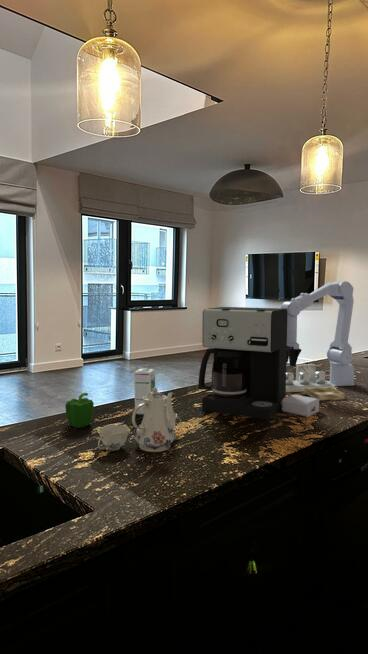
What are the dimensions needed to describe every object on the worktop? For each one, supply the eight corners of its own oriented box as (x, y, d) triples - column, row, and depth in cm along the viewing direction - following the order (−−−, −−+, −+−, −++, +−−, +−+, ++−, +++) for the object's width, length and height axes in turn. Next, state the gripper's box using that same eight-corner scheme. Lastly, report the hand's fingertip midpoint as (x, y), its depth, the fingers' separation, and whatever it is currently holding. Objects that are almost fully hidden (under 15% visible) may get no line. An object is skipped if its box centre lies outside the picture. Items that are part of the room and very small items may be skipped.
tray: (330, 392, 180) (330, 387, 180) (345, 399, 169) (345, 393, 169) (304, 393, 178) (304, 388, 178) (317, 400, 167) (317, 395, 167)
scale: (319, 383, 196) (320, 363, 196) (334, 390, 184) (335, 369, 183) (271, 385, 192) (272, 365, 192) (283, 392, 180) (284, 371, 179)
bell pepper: (66, 431, 133) (65, 397, 132) (65, 422, 141) (64, 391, 140) (95, 428, 135) (94, 396, 134) (93, 420, 143) (92, 389, 142)
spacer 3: (322, 381, 190) (322, 371, 190) (327, 383, 186) (327, 373, 186) (312, 381, 190) (312, 371, 189) (317, 384, 185) (317, 373, 185)
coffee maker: (190, 409, 156) (190, 308, 153) (213, 396, 173) (214, 305, 170) (269, 420, 143) (271, 310, 140) (285, 405, 160) (287, 307, 157)
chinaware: (161, 430, 139) (156, 376, 138) (204, 436, 128) (200, 378, 128) (88, 457, 117) (83, 394, 117) (133, 467, 106) (127, 398, 106)
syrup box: (151, 415, 149) (151, 371, 148) (134, 414, 150) (133, 371, 149) (155, 410, 155) (155, 368, 153) (139, 409, 156) (139, 367, 154)
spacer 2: (306, 382, 189) (306, 371, 189) (311, 384, 185) (311, 373, 184) (296, 382, 188) (296, 371, 188) (301, 384, 184) (301, 374, 184)
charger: (279, 403, 163) (319, 411, 153) (266, 409, 156) (306, 417, 146) (279, 390, 162) (319, 398, 153) (266, 395, 155) (307, 403, 146)
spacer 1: (290, 382, 188) (291, 372, 188) (295, 385, 184) (295, 374, 183) (280, 383, 187) (281, 372, 187) (285, 385, 183) (285, 374, 182)
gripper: (273, 329, 189) (272, 361, 191) (287, 333, 175) (286, 367, 176) (289, 329, 191) (288, 360, 192) (304, 332, 176) (303, 367, 178)
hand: (288, 364), depth 184 cm, fingers open, 7 cm apart
